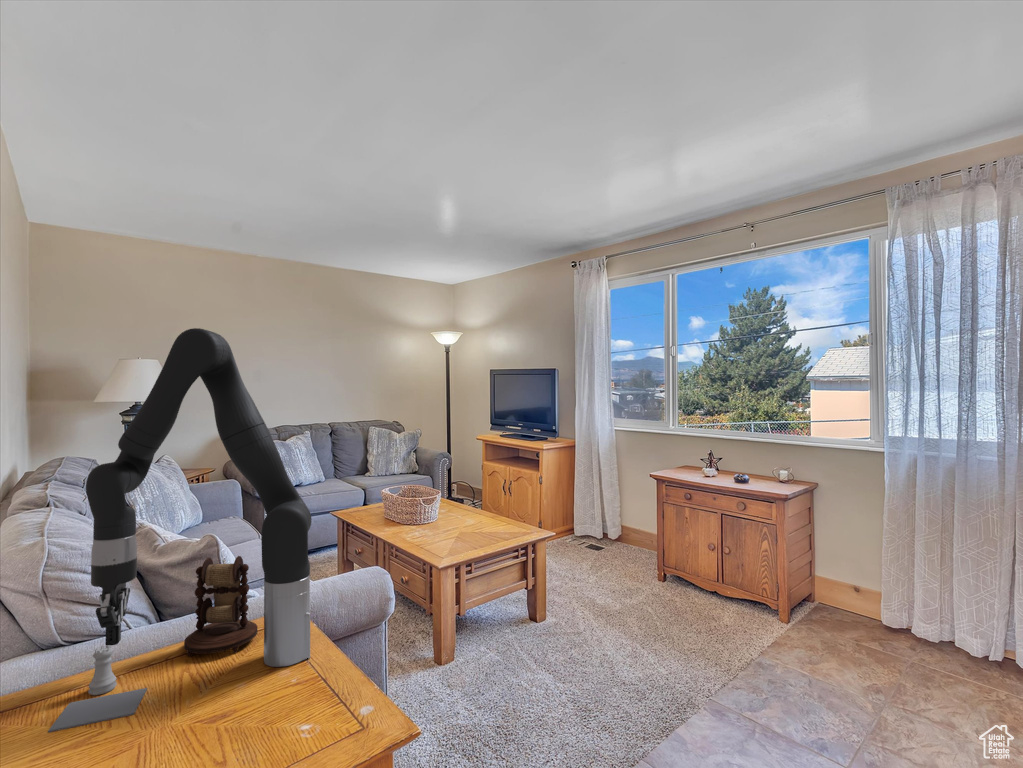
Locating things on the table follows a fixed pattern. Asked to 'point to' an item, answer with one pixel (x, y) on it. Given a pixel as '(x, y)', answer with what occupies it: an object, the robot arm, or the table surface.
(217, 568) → the wooden spool holder
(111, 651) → the rook chess piece
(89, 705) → the felt mat
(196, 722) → the table surface
